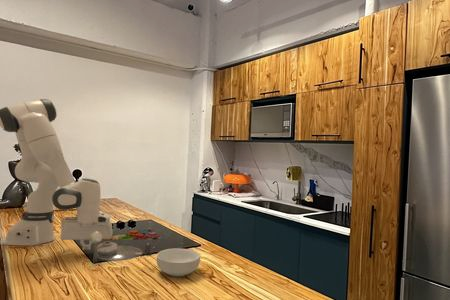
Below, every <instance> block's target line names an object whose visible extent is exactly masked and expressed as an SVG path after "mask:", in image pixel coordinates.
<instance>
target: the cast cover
mask: <svg viewBox="0 0 450 300" xmlns="http://www.w3.org/2000/svg"><path fill="white" fill-rule="evenodd" d="M117 246H118V244H117V243H116V242H113V241H111V240H108V241H106V240H105V241H103V242H102V243H101V242H99V244H97V255H99V256H111V255H115V254H116V253H117Z"/></svg>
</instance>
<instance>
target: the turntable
mask: <svg viewBox="0 0 450 300" xmlns="http://www.w3.org/2000/svg"><path fill="white" fill-rule="evenodd" d="M143 251H144V252H143ZM143 253H144V255H145V256H151V255H152V243H151V242H145V243H144V250H142V249H141V248H139V247H135V246H132V245H117V253H116V254H115V255H111V256H99V255H97V259H98V260H99V259H100V260H103V261H110V262H111V261H112V262H115V261H116V262H119V261H127V260H128V261H129V260H132V259H136V258H138V257H140V256H142V255H143Z"/></svg>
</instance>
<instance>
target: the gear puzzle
mask: <svg viewBox="0 0 450 300" xmlns="http://www.w3.org/2000/svg"><path fill="white" fill-rule="evenodd" d="M154 239H157V240H158V239H162V237H161V236H160V233H157V232H155V231H153V230H152V228H151V227H148V228H147V229H143V230H140V231H138V230H135V229H134V230H129V232H128V231H127V232H126V234H116V235H112V237H111V238H110V239H102V241H105V242H106V241H129V240H131V241H132V240H135V241H137V240H154Z"/></svg>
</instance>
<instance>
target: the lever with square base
mask: <svg viewBox="0 0 450 300" xmlns="http://www.w3.org/2000/svg"><path fill="white" fill-rule="evenodd" d="M90 240H91V242H92V244H94V245H93V259H92V261H93V262H92V263H93V264H97V260H98V258H97V246H98V243H99V244H100V243H101V242H102V241H103V240H102V234H101V233H100V232H97V231H96V232H93V233H92V234H91V236H90V239H89V241H90Z"/></svg>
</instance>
